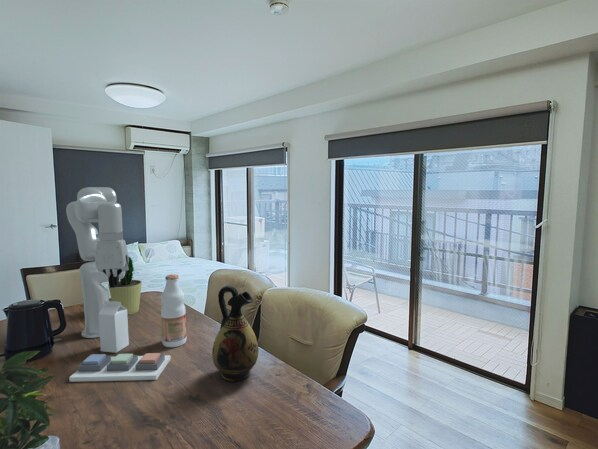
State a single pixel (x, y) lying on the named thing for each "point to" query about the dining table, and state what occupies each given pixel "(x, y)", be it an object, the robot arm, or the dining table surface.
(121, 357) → the sage-green button
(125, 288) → the potted cactus
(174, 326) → the fruit juice
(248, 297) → the ceramic jug
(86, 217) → the robot arm
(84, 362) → the slate-blue button
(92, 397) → the dining table surface
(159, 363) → the button panel
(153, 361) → the terracotta button
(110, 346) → the milk carton
